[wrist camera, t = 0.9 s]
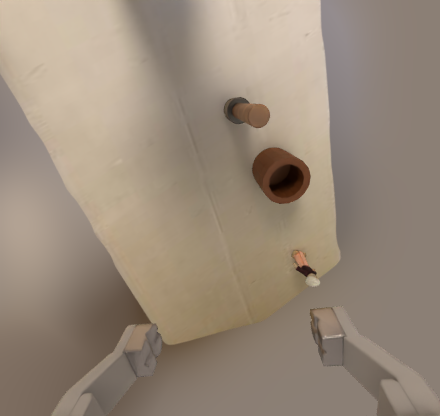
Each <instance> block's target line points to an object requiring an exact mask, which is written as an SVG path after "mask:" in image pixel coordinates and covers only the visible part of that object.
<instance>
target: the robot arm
mask: <svg viewBox="0 0 440 416" xmlns="http://www.w3.org/2000/svg"><path fill="white" fill-rule="evenodd" d="M310 316H311V319H312V321H311V329H312V334H313V337H314V340H315V343H316V344H317V345H318V351H319V354H320V357H321V360H322V363H323V365H324V366H343V367H344V368H345V369H346V370H347V371H348V372H349V373H350V374H351V375H352V376H353V377H354V378H355V379H356V380H357V381H358V382H359V383H360V384H361V385H363V387H364V388H365V389H366V390H367V391H368V392H369V393H370V394H371V395H372V396H373V397H374V398H375V399H376V400H377V401H378V408H377V416H440V400H439V398H438V397H437V396H436V394H435V393H434V391H433V390H432V389H431V387H430V386H429V384H428V383H427V382H426V380H425V379H424V378H423V377H422V376H421V375H420V374H418V373H417V372H415V371H414V370H412V369H411V368H410V367H408V366H407V365H405V364H404V363H402V362H401V361H399V360H398V359H397V358H395V357H394V356H392V355H391V354H389V353H388V352H386V351H385V350H383V349H382V348H381V347H379V346H378V345H376V344H375V343H373V342H372V341H370V340H369V339H368V338H366V337H365V336H360V335H359V333H358V332H357V330H356V328H355V326H354V325H353V323H352V321H351V319H350V318H349V316H348V314H347V312H346V311H345V309H344V307H342V306H337V307H326V308H317V309H310ZM157 330H158V327H157V325H156V324H137V325H129V326H128V327H127V328H126V329H125V331H124V333H123V335H122V337H121V339H120V340H119V342H118V344H117V346H116V348H115V350H114V352H113V354H109V355H108V356H107V357H106V358H105V359H103V360H102V361H101V362H100V363H99V364H98V365H97V366H96V367H94V368H93V369H92V370H91V371H90V372H89V373H87V374H86V375H85V376H84V377H83V378H82V379H81V380H79V381H78V382H77V383H76V384H75V385H74V386H73V387H71V388H70V389H69V390H68V391H67V392H66V393H65V394H64V395H63V397H62V399H61V400H60V402H59V403H58V405H57V407H56V408H55V410H54V411H53V413H52V414H51V416H107V415H108V414H109V413H110V412H111V410H112V409H113V408H114V407H115V405H116V404H117V403H118V401H119V400H120V399H121V398H122V397H123V395H124V394H125V393H126V392H127V390H128V389H129V388H130V386H131V385H132V384H133V383H134V382H135V380H136V379H137V377H144V376H153V373H154V370H155V367H156V364H157V360H156V357H157V356H158V355H159V354H160V352H161V349H162V337H161V334H160V333H158V332H157Z"/></svg>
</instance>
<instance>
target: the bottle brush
mask: <svg viewBox="0 0 440 416" xmlns="http://www.w3.org/2000/svg"><path fill="white" fill-rule="evenodd" d="M224 113H225V116H226V117H227V118H228V119H229V120H230V121H232V122H233V123H235V124H242V123H244V122H245V123H247V124H249V125H251V126H253V127H255V128H261V127H263V126H265V125H266V124H267V122H268V121H269V118H270V113H269V110H268V108H267V107H266V106H265V105H262V104H250V103H249V102H248V101H247V100H246V99H244V98H241V97H238V98H232V99H230V100H228V101H227V103H226V104H225V107H224Z"/></svg>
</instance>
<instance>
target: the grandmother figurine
mask: <svg viewBox="0 0 440 416" xmlns="http://www.w3.org/2000/svg"><path fill="white" fill-rule="evenodd" d="M305 257H306V254H305V253H302V252H301V251H294V252H293V254H292V258H295V260H296V262H297V264H298V265H299V266H300V267H299V266H298V265H297V264H296V263H293V266H294V267H295V268H296V270H297V271H299V272H300V273H302V274H304V275H305V276H306V277H307V278H306V284H307V285H309V286H313V287H316V286H318V285H319V284H320V281H319V280H318V279H317V276H316V271H315V269H311V268H310V267H309V266H308V263H307V261H306V259H305Z"/></svg>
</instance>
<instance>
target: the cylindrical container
mask: <svg viewBox="0 0 440 416" xmlns="http://www.w3.org/2000/svg"><path fill="white" fill-rule="evenodd" d="M252 171H253V176H254V178H255V180H256V182H257V183H258V185H259V186H260V188H261V189H262V190H263V192H264V193H265V195H266V196H267V197H268V198H269V199H270V200H271V201H273V202H276V203H279V204H284V203H290V202H293V201H295V200H297V199H299V198H300V197H301V196H302V195H303V194H304V193H305V191H306V190H307V188H308V186H309V183H310V172H309V168H308V167H307V166H306V164H305V163H304V162H303V161H302V160H300V159H298V158H297V157H295V156H293V155H292V154H290V153H288V152H287V151H285V150H282V149H280V148H268V149H266V150H264V151H262V152H261V153H260V154H259V155H258V156H257V157H256V158H255V160H254V163H253V167H252Z"/></svg>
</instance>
